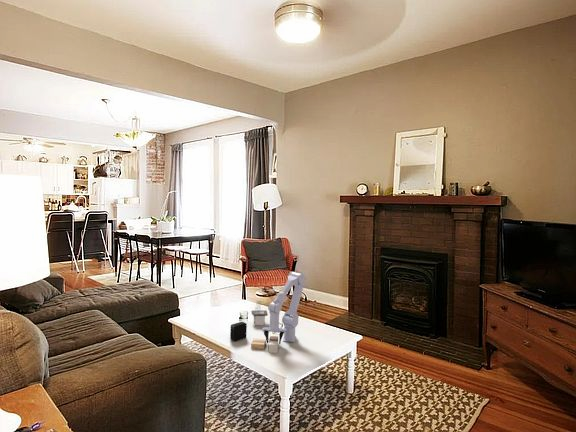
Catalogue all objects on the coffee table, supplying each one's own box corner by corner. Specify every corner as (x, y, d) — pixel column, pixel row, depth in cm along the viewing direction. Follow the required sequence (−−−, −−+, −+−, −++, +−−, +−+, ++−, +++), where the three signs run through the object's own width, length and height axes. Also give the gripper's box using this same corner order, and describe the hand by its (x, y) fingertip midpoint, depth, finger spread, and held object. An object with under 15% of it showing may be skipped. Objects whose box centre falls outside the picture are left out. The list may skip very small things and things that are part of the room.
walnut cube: (270, 343, 231) (270, 335, 231) (278, 344, 231) (278, 336, 230) (269, 346, 226) (269, 338, 226) (277, 347, 226) (277, 339, 225)
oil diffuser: (274, 318, 280) (275, 296, 279) (278, 329, 257) (278, 306, 256) (241, 318, 277) (241, 296, 276) (241, 330, 253) (242, 306, 252)
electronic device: (246, 337, 239) (246, 323, 238) (234, 341, 232) (234, 326, 231) (242, 336, 242) (242, 321, 241) (230, 339, 235) (230, 324, 234)
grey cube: (269, 348, 223) (270, 340, 223) (278, 349, 223) (278, 341, 222) (268, 352, 218) (269, 344, 218) (277, 352, 218) (277, 344, 217)
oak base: (253, 343, 231) (253, 338, 230) (266, 344, 230) (266, 339, 230) (251, 348, 223) (251, 343, 223) (263, 349, 222) (264, 344, 222)
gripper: (261, 323, 224) (261, 344, 225) (285, 324, 223) (284, 346, 224) (263, 319, 231) (263, 340, 232) (286, 320, 230) (285, 341, 231)
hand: (273, 343), depth 228 cm, fingers open, 7 cm apart
